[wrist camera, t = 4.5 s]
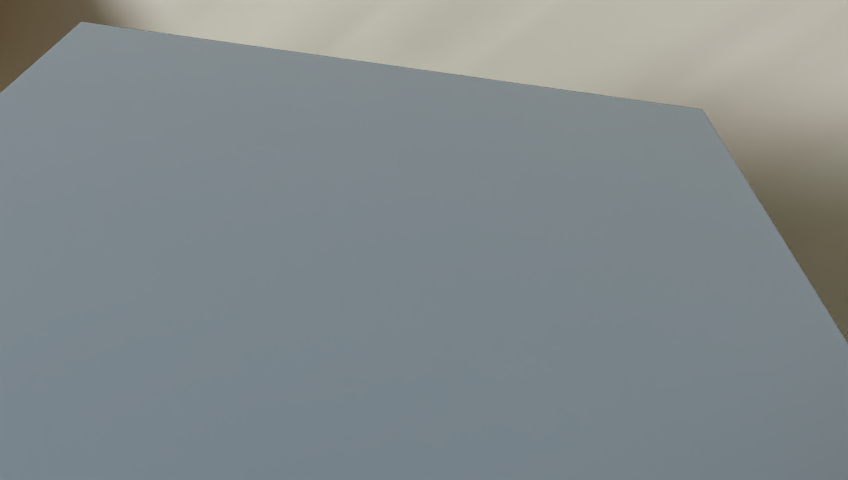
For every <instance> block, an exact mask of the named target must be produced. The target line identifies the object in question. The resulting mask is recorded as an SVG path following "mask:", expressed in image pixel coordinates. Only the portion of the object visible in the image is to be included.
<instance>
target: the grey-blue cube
mask: <svg viewBox="0 0 848 480" xmlns="http://www.w3.org/2000/svg"><path fill="white" fill-rule="evenodd" d="M0 480H848V343H847V341H846V340H845V338H844V336H843V335H842V333H841V332H840V330H839V328H838V327H837V325H836V324H835V322H834V320H833V319H832V317H831V315H830V314H829V312H828V311H827V309H826V307H825V306H824V304H823V303H822V301H821V299H820V298H819V296H818V295H817V293H816V291H815V290H814V288H813V286H812V285H811V283H810V282H809V280H808V278H807V277H806V275H805V274H804V272H803V270H802V269H801V267H800V266H799V264H798V262H797V261H796V259H795V258H794V256H793V254H792V253H791V251H790V249H789V248H788V246H787V245H786V243H785V241H784V240H783V238H782V237H781V235H780V233H779V232H778V230H777V229H776V227H775V225H774V224H773V222H772V220H771V219H770V217H769V216H768V214H767V212H766V211H765V209H764V208H763V206H762V204H761V203H760V201H759V200H758V198H757V196H756V195H755V193H754V192H753V190H752V188H751V187H750V185H749V183H748V182H747V180H746V179H745V177H744V175H743V174H742V172H741V171H740V169H739V167H738V166H737V164H736V163H735V161H734V159H733V158H732V156H731V154H730V153H729V151H728V150H727V148H726V146H725V145H724V143H723V142H722V140H721V138H720V137H719V135H718V134H717V132H716V130H715V129H714V127H713V126H712V124H711V122H710V121H709V119H708V117H707V116H706V114H705V113H704V111H703V109H696V108H689V107H682V106H675V105H668V104H661V103H654V102H647V101H640V100H632V99H625V98H618V97H611V96H604V95H597V94H590V93H583V92H576V91H569V90H562V89H555V88H548V87H540V86H533V85H526V84H519V83H512V82H505V81H498V80H491V79H484V78H477V77H470V76H463V75H455V74H448V73H441V72H434V71H427V70H420V69H413V68H406V67H399V66H392V65H385V64H378V63H371V62H363V61H356V60H349V59H342V58H335V57H328V56H321V55H314V54H307V53H300V52H293V51H286V50H278V49H271V48H264V47H257V46H250V45H243V44H236V43H229V42H222V41H215V40H208V39H201V38H194V37H186V36H179V35H172V34H165V33H158V32H151V31H144V30H137V29H130V28H123V27H116V26H109V25H101V24H94V23H87V22H80V23H79V24H78V25H77V26H76V27H74V28H73V29H72V30H71V31H70V32H69V33H68V34H67V35H65V36H64V37H63V38H62V39H61V40H60V41H59V42H57V43H56V44H55V45H54V46H53V47H52V48H51V49H50V50H48V51H47V52H46V53H45V54H44V55H43V56H42V57H40V58H39V59H38V60H37V61H36V62H35V63H34V64H33V65H31V66H30V67H29V68H28V69H27V70H26V71H25V72H23V73H22V74H21V75H20V76H19V77H18V78H17V79H16V80H14V81H13V82H12V83H11V84H10V85H9V86H8V87H6V88H5V89H4V90H3V91H2V92H1V93H0Z"/></svg>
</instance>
